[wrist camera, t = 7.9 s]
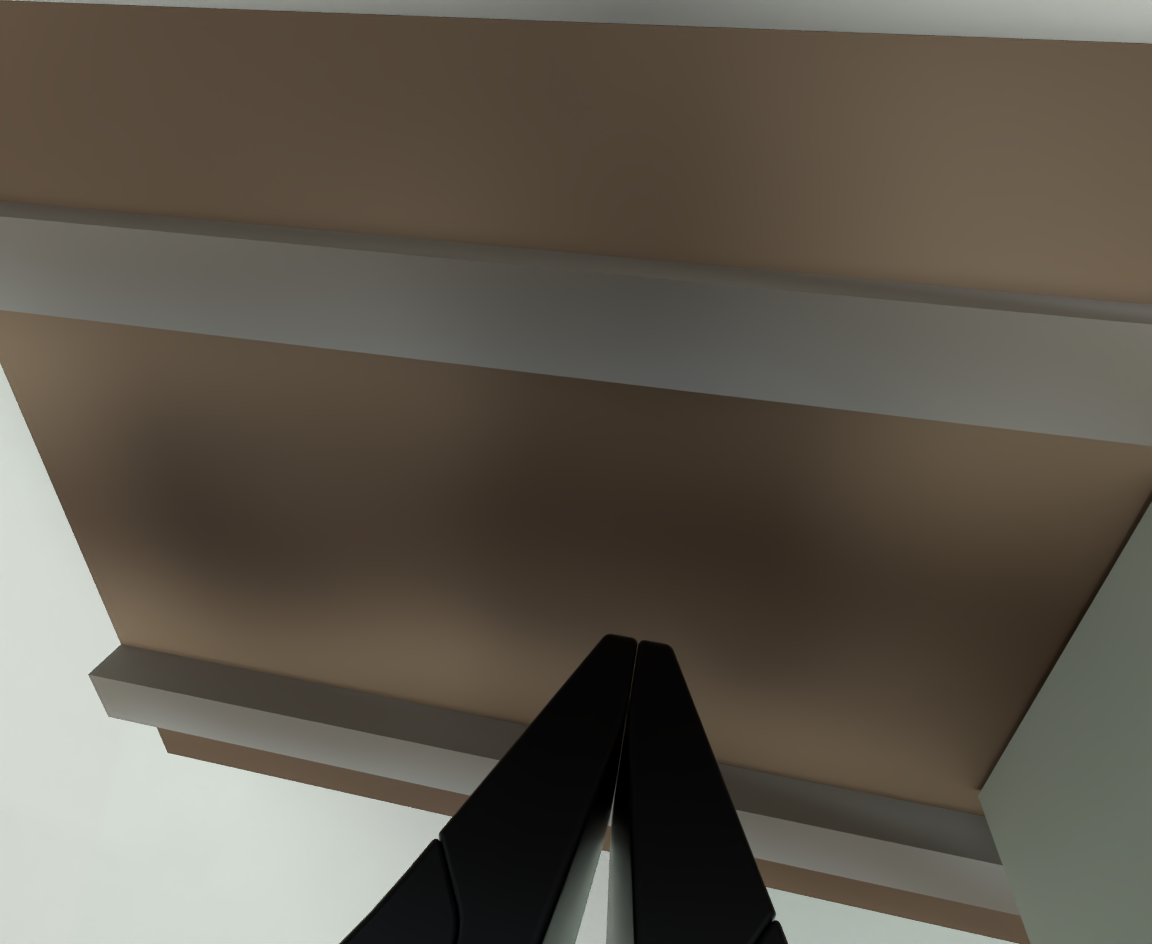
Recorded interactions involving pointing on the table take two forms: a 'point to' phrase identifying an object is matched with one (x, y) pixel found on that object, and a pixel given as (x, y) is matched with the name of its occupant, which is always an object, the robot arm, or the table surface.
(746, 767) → the track
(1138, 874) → the block
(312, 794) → the table surface
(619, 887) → the robot arm
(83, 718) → the table surface
